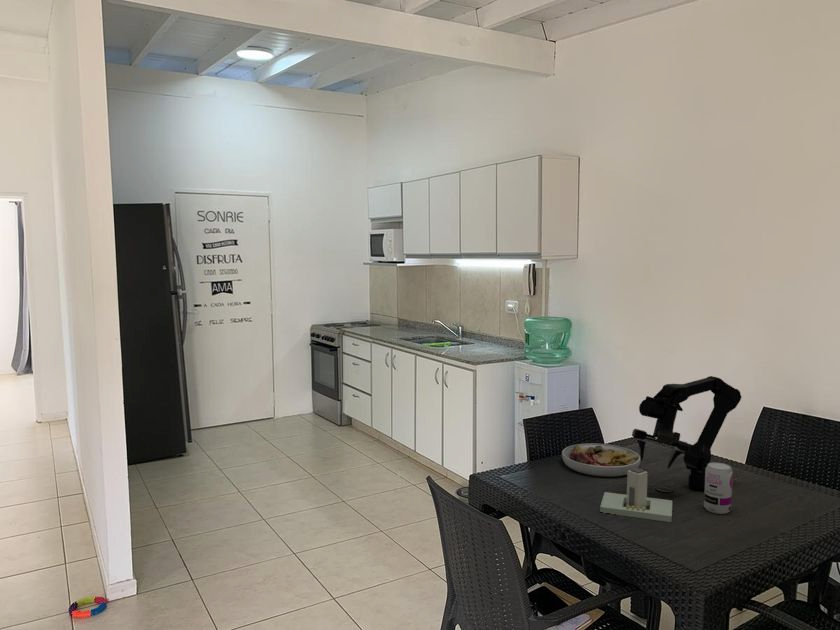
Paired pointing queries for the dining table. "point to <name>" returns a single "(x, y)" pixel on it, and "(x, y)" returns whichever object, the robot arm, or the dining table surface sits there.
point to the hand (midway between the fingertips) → (654, 464)
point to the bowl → (600, 459)
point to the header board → (657, 511)
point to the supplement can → (718, 488)
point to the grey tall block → (637, 488)
